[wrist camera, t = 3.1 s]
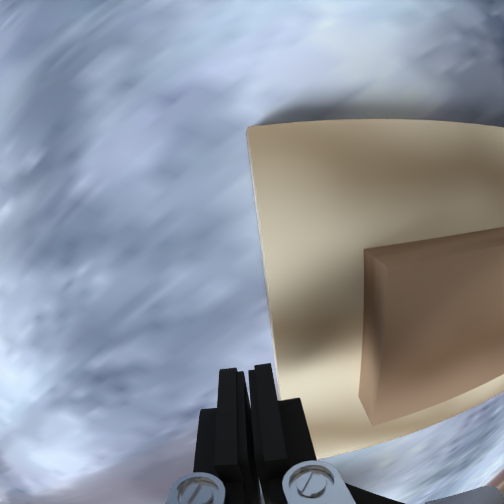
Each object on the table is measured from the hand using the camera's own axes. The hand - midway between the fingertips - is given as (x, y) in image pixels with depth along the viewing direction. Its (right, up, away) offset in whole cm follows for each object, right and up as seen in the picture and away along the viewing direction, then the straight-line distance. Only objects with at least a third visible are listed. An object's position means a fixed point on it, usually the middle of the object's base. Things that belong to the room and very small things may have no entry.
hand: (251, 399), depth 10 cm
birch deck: (+11, +3, +4) cm, 12 cm away
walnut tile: (+9, +2, +2) cm, 9 cm away
